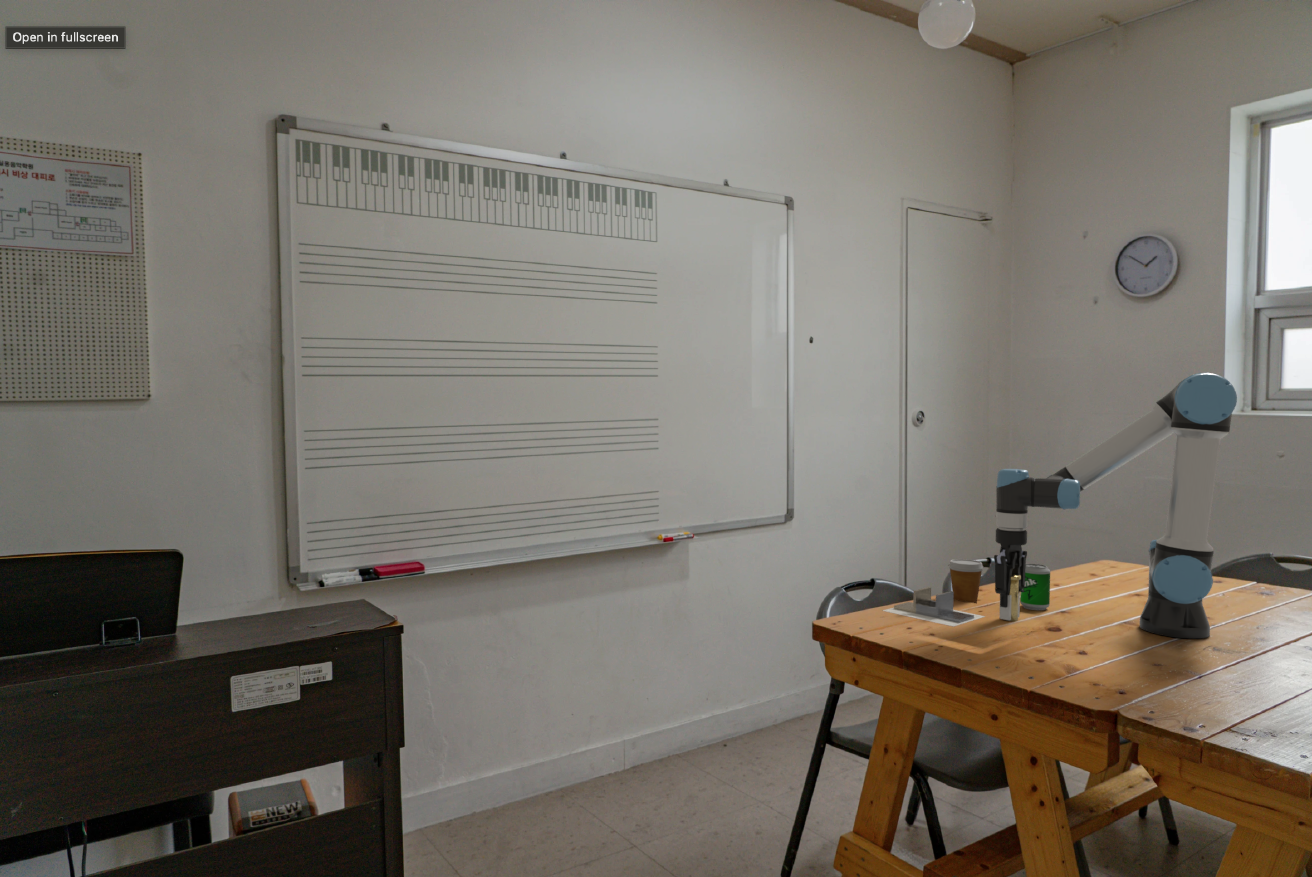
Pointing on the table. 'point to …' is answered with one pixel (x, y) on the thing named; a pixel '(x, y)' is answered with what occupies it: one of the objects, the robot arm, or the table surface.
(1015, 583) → the pin
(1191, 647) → the table surface
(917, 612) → the hinge
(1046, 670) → the table surface
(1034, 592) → the soda can
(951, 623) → the board
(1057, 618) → the table surface
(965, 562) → the disposable coffee cup
